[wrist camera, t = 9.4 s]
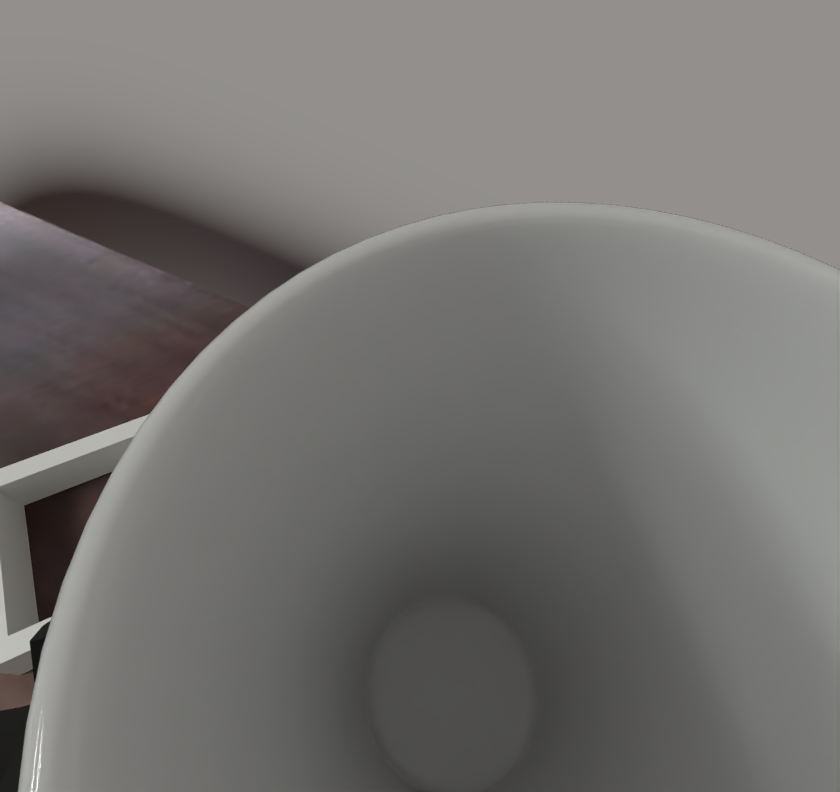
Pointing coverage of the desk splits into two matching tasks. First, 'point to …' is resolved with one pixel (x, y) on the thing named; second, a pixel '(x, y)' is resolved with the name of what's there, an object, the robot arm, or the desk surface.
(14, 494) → the frame
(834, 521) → the drinking glass
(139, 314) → the desk surface
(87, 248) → the desk surface
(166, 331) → the desk surface
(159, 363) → the desk surface
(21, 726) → the robot arm
